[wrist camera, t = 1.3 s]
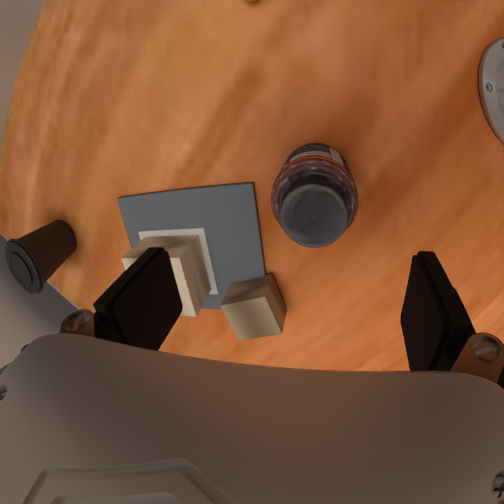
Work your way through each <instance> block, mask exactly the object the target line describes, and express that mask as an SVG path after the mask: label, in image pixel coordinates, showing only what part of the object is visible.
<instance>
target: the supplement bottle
mask: <svg viewBox="0 0 504 504" xmlns="http://www.w3.org/2000/svg"><path fill="white" fill-rule="evenodd" d="M271 204H272V210H273V213H274V216H275V218H276V220H277V221H278V223H279V224H280V226H281V227H282V228H283V229H284V231H285V233H286V234H287V235H288V236H289V237H290V238H291V239H292V240H293V241H295V242H296V243H298V244H300V245H302V246H306V247H313V248H318V247H323V246H326V245H329V244H331V243H333V242H334V241H336V240H337V239H338V238H339V237H340V236H341V235H342V233H344V232H345V231H346V230H347V229H348V228H349V227H350V226H351V224H352V222H353V221H354V219H355V216H356V214H357V210H358V193H357V189H356V186H355V184H354V180H353V178H352V176H351V173H350V171H349V169H348V166H347V164H346V161H345V160H344V158H343V157H342V156H341V155H340V154H339V153H338V152H337V151H336V150H334V149H333V148H331V147H329V146H327V145H324V144H318V143H311V144H307V145H304V146H301V147H299V148H297V149H296V150H295V151H294V152H293V153H292V154H291V155H290V156H289V157H288V159H287V160H286V162H285V164H284V166H283V167H282V169H281V171H280V173H279V174H278V176H277V178H276V180H275V182H274V185H273V188H272V194H271Z"/></svg>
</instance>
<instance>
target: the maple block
mask: <svg viewBox="0 0 504 504" xmlns="http://www.w3.org/2000/svg"><path fill="white" fill-rule="evenodd" d="M149 247H163V248H164V249H165V251H167V252H168V253H169V256H170V260H171V264H172V268H173V272H174V275H175V279H176V283H177V286H178V290H179V294H180V297H181V301H182V304H183V309H182V312H181V314H180V315H182V316H195V317H196V316H197V315H198V313H199V311H200V309H201V307H202V305H203V304H204V302H205V300H206V298H207V296H208V295H209V293H210V291H211V285H210V281H209V277H208V273H207V269H206V265H205V260H204V256H203V252H202V247H201V243H200V238H199V235H177V236H156V237H144V238H143V239H142V240H141V241H140V242H138V243H137V244H136V245H135V246H134V247H133V248H132V249H131V250H130V251H129V252H128V253H126V254H125V255H124V256H123V257H122V258H121V259H122V261H123V264H124V267H125V270H127V269H128V268H129V267H130V266H131V265H132V264H133V263H134V262H135V261H136V260H137V259H138V258H139V257H140V256H141V255H142V254H143V253H144V252H145V251H146V250H147V249H148V248H149Z"/></svg>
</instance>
